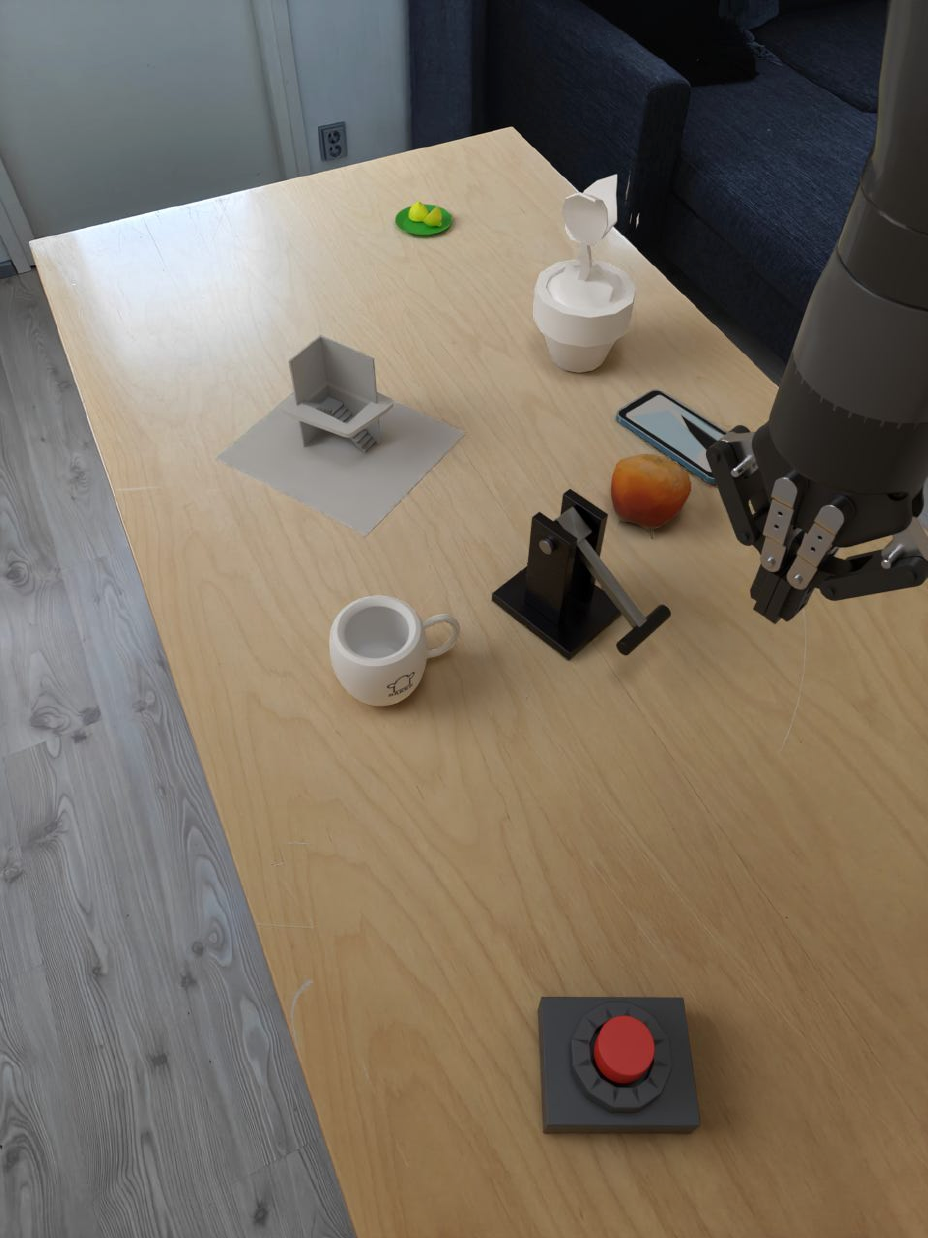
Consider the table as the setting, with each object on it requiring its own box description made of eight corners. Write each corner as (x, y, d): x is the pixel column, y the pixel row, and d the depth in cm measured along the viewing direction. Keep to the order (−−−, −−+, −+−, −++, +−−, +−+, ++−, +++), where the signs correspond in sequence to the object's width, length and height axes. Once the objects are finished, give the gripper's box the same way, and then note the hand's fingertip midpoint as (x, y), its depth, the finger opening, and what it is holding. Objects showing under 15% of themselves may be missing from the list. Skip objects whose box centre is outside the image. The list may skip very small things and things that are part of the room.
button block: (675, 1009, 67) (688, 990, 63) (691, 1134, 62) (707, 1121, 58) (537, 1008, 67) (542, 989, 63) (543, 1133, 62) (549, 1121, 58)
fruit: (592, 530, 94) (613, 453, 91) (606, 513, 101) (625, 441, 98) (670, 552, 92) (694, 475, 89) (678, 533, 99) (701, 461, 96)
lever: (662, 620, 84) (677, 613, 81) (620, 658, 81) (634, 652, 79) (574, 504, 83) (587, 494, 81) (529, 539, 81) (541, 530, 78)
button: (645, 1025, 62) (651, 1015, 60) (651, 1084, 60) (658, 1076, 58) (591, 1025, 62) (596, 1015, 60) (596, 1084, 60) (601, 1075, 58)
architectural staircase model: (365, 536, 95) (356, 451, 86) (214, 458, 102) (190, 372, 92) (466, 432, 105) (467, 346, 95) (322, 367, 111) (310, 281, 102)
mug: (355, 733, 81) (346, 684, 75) (322, 660, 86) (312, 608, 79) (479, 685, 84) (481, 634, 78) (441, 617, 89) (440, 564, 82)
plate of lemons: (461, 215, 132) (461, 196, 130) (437, 244, 128) (437, 224, 125) (410, 203, 134) (410, 184, 132) (385, 230, 130) (384, 211, 127)
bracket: (623, 613, 89) (645, 521, 79) (568, 661, 86) (584, 572, 76) (546, 557, 93) (557, 463, 83) (491, 600, 90) (495, 508, 80)
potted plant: (600, 400, 108) (633, 192, 88) (512, 368, 111) (525, 161, 92) (643, 343, 115) (683, 137, 95) (558, 314, 118) (580, 110, 98)
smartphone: (656, 386, 108) (759, 451, 101) (655, 393, 109) (756, 458, 102) (612, 413, 105) (715, 482, 98) (611, 420, 106) (713, 488, 99)
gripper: (704, 327, 40) (640, 581, 54) (992, 481, 35) (839, 720, 48) (800, 259, 43) (716, 515, 57) (1077, 390, 38) (911, 638, 52)
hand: (773, 609), depth 53 cm, fingers closed
